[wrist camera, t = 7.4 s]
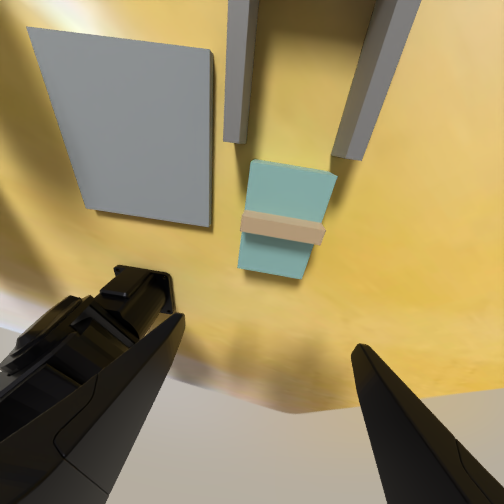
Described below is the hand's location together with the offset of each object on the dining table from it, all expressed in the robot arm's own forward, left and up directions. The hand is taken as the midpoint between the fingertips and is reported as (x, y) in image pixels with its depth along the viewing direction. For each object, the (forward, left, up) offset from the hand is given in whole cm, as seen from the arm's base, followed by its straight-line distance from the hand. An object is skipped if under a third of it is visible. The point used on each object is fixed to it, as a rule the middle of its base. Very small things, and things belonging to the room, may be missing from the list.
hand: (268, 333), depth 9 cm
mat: (+6, +12, -11) cm, 17 cm away
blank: (+2, 0, -11) cm, 12 cm away
